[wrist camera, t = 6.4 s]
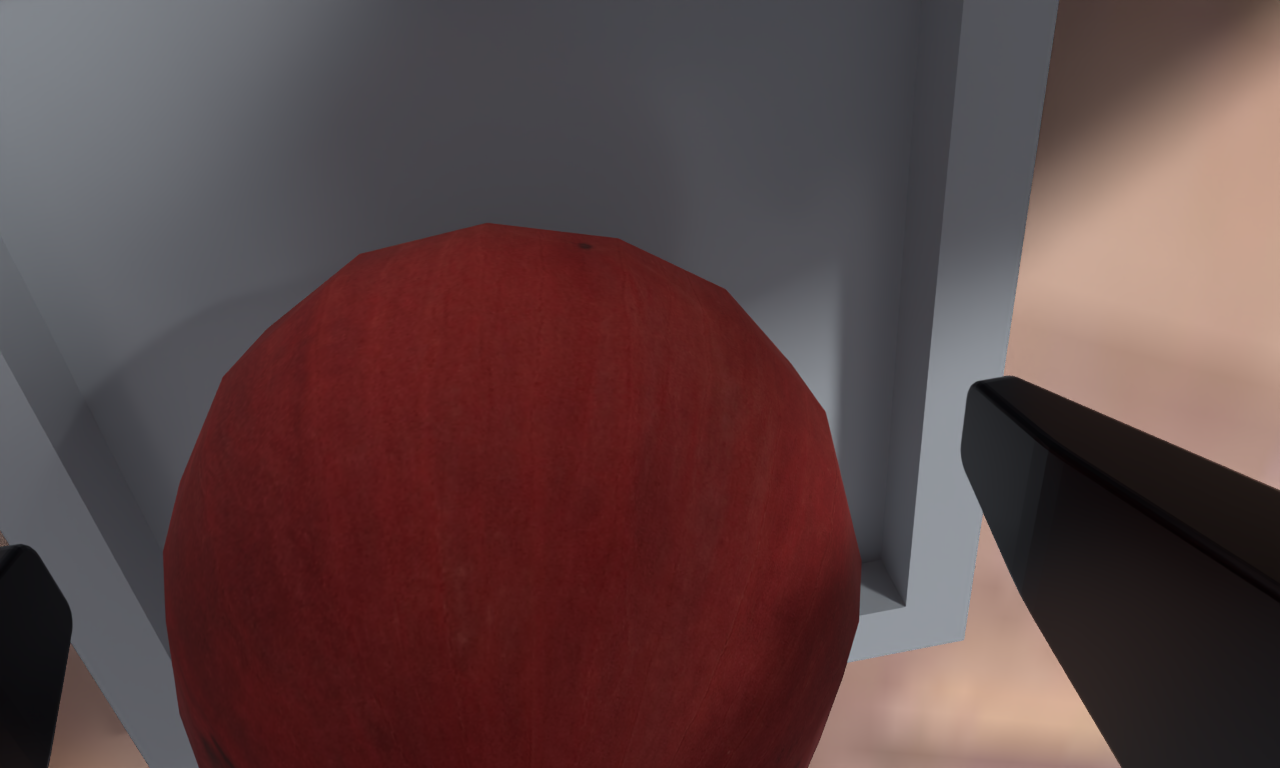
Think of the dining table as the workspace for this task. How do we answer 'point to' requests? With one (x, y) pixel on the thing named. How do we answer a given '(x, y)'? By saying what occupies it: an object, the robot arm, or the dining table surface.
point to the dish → (509, 195)
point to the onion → (511, 524)
